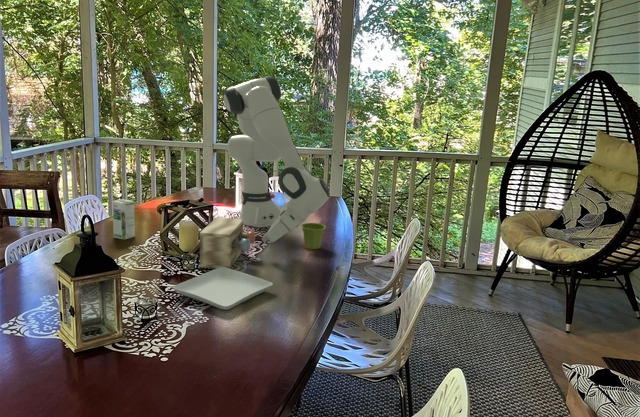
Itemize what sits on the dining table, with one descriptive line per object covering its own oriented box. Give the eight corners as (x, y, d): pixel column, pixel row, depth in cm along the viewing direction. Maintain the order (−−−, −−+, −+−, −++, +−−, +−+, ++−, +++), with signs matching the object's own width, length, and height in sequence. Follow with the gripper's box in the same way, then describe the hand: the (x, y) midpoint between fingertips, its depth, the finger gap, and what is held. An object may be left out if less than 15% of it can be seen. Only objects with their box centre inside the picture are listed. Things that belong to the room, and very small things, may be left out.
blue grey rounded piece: (227, 252, 164) (227, 239, 163) (230, 248, 168) (231, 235, 167) (247, 253, 164) (247, 241, 163) (250, 249, 168) (250, 237, 167)
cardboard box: (199, 267, 162) (199, 232, 159) (216, 248, 182) (216, 217, 179) (229, 269, 162) (229, 234, 159) (242, 250, 181) (243, 219, 178)
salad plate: (226, 317, 129) (226, 305, 128) (170, 296, 139) (170, 285, 139) (274, 292, 146) (275, 282, 145) (222, 275, 157) (222, 265, 156)
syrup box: (113, 237, 187) (111, 201, 184) (125, 234, 193) (123, 198, 189) (123, 240, 185) (122, 203, 182) (135, 236, 190) (134, 200, 187)
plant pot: (327, 246, 192) (329, 224, 190) (319, 252, 184) (321, 230, 182) (305, 242, 195) (306, 221, 193) (296, 249, 187) (297, 227, 185)
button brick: (234, 244, 173) (234, 232, 172) (236, 240, 177) (237, 228, 176) (252, 245, 172) (253, 233, 171) (255, 241, 177) (255, 230, 176)
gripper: (289, 202, 181) (262, 225, 184) (281, 215, 161) (251, 241, 164) (300, 214, 182) (274, 237, 184) (294, 229, 162) (264, 255, 165)
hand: (263, 239), depth 174 cm, fingers closed
